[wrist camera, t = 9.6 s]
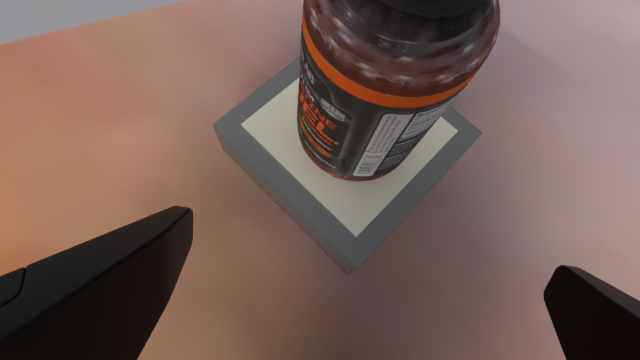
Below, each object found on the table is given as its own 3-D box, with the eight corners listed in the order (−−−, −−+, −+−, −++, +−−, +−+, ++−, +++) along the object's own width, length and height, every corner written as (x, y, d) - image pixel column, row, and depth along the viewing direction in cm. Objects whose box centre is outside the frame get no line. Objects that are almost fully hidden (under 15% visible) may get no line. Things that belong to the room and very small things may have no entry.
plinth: (347, 273, 20) (358, 267, 17) (222, 148, 21) (212, 123, 18) (457, 154, 22) (483, 131, 19) (340, 53, 24) (347, 17, 21)
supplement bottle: (275, 106, 19) (260, -152, 8) (373, 66, 20) (468, -202, 10) (330, 206, 17) (399, 48, 7) (432, 155, 19) (623, -44, 8)
